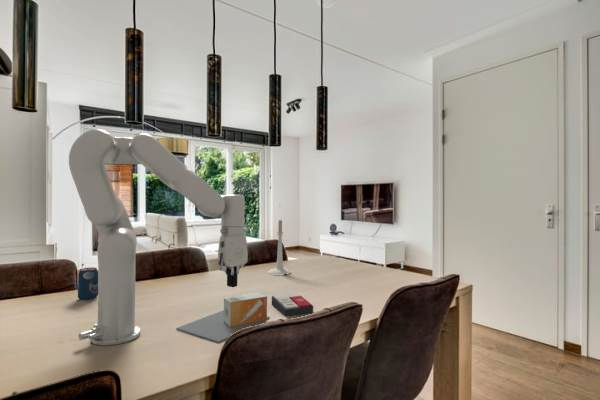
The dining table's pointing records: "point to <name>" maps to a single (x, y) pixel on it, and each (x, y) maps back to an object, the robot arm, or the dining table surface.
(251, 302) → the small box
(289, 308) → the flat red grey box
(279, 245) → the candlestick
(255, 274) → the dining table surface
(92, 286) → the soda can
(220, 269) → the robot arm
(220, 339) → the mat
